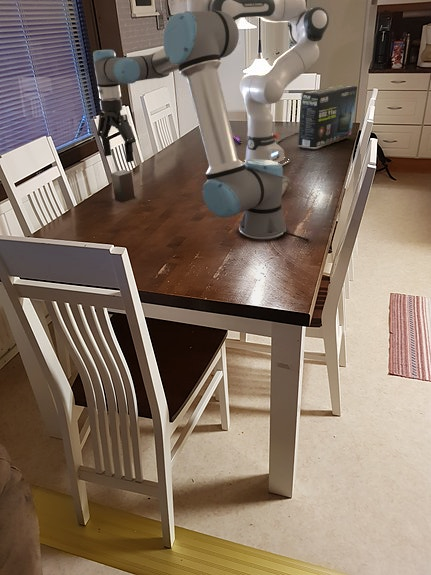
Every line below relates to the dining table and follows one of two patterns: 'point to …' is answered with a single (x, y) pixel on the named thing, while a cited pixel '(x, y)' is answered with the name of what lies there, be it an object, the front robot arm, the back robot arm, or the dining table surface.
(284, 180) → the fossil
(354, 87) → the router box
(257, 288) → the dining table surface
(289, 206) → the dining table surface
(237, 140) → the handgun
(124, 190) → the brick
